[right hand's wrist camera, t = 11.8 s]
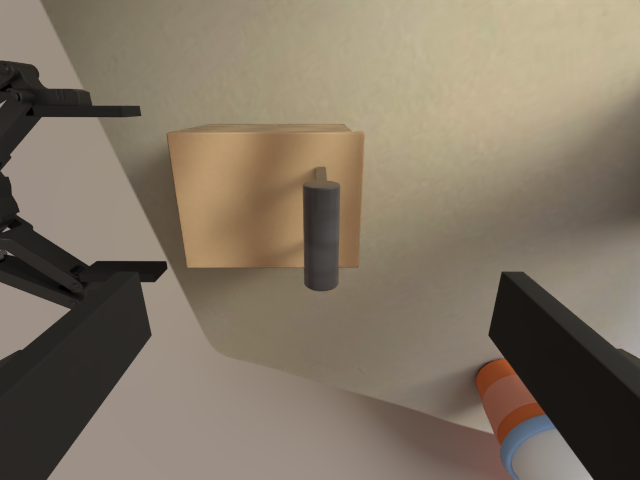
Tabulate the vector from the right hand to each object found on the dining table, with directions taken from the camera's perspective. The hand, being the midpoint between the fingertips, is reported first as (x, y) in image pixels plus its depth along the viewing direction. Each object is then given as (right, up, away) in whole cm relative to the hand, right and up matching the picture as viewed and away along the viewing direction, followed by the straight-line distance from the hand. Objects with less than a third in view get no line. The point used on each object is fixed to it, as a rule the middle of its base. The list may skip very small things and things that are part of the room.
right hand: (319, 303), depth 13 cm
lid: (-4, +5, +14) cm, 15 cm away
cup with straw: (+23, -15, +31) cm, 41 cm away
